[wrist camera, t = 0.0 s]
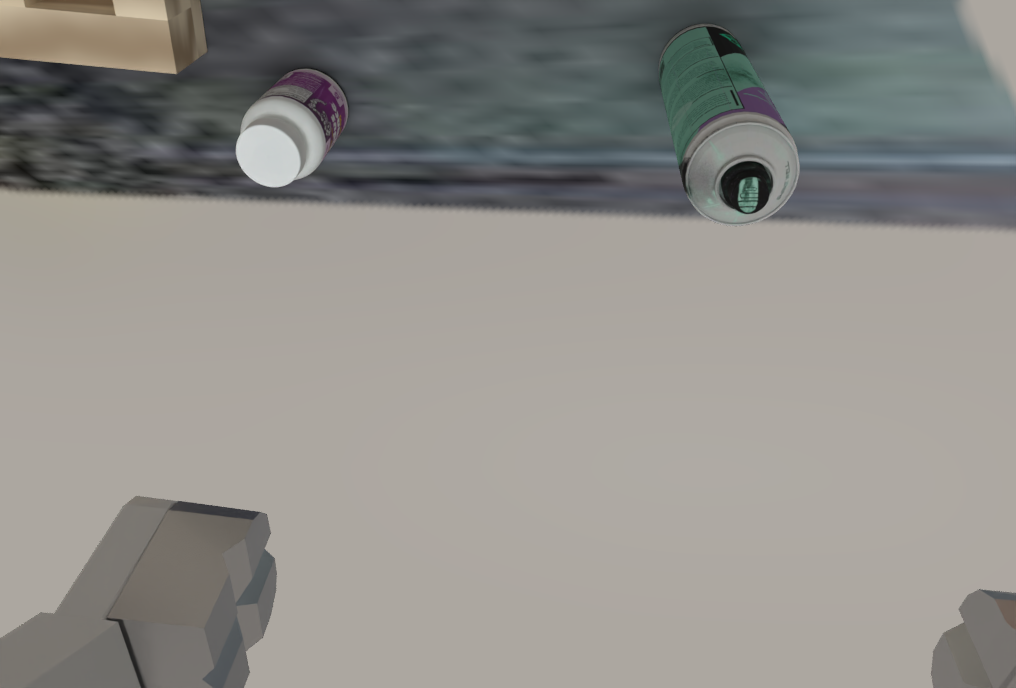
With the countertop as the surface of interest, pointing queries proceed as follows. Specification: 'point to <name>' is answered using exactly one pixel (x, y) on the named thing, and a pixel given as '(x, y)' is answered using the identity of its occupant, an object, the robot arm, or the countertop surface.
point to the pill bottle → (291, 128)
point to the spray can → (725, 128)
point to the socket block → (104, 33)
